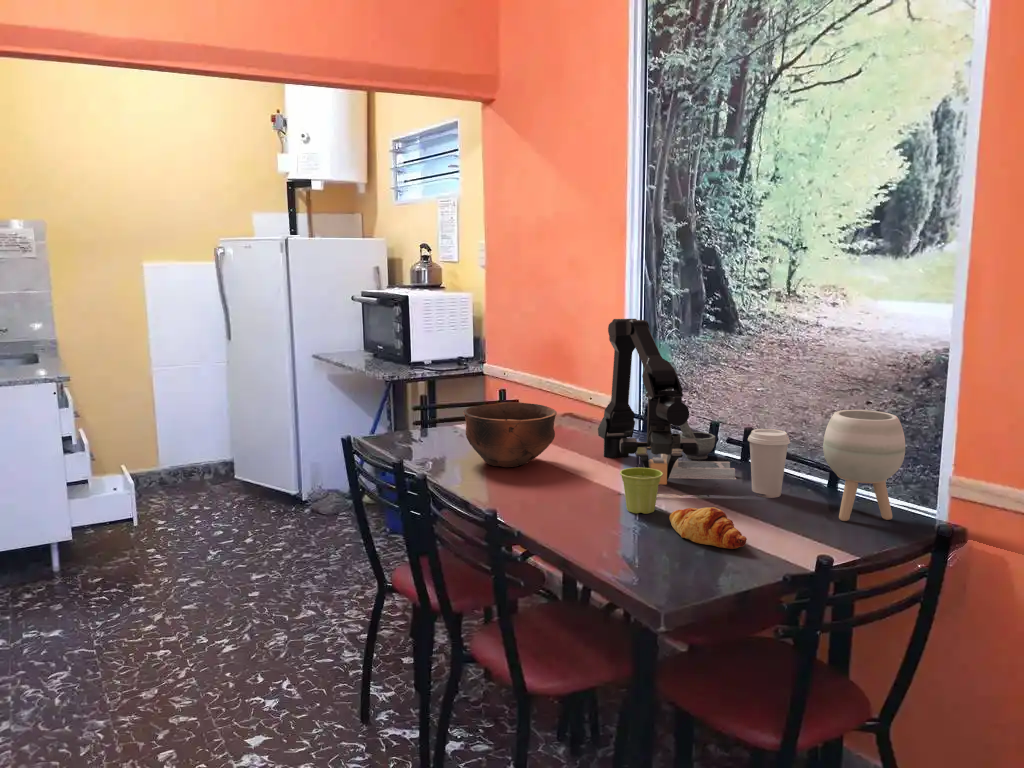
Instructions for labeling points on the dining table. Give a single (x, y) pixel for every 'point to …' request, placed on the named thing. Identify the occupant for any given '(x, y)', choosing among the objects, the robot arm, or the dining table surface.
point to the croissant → (707, 527)
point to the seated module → (666, 459)
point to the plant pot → (641, 488)
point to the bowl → (509, 431)
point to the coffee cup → (768, 461)
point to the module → (659, 468)
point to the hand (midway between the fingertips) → (657, 480)
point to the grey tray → (703, 470)
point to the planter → (864, 453)
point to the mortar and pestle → (698, 441)
